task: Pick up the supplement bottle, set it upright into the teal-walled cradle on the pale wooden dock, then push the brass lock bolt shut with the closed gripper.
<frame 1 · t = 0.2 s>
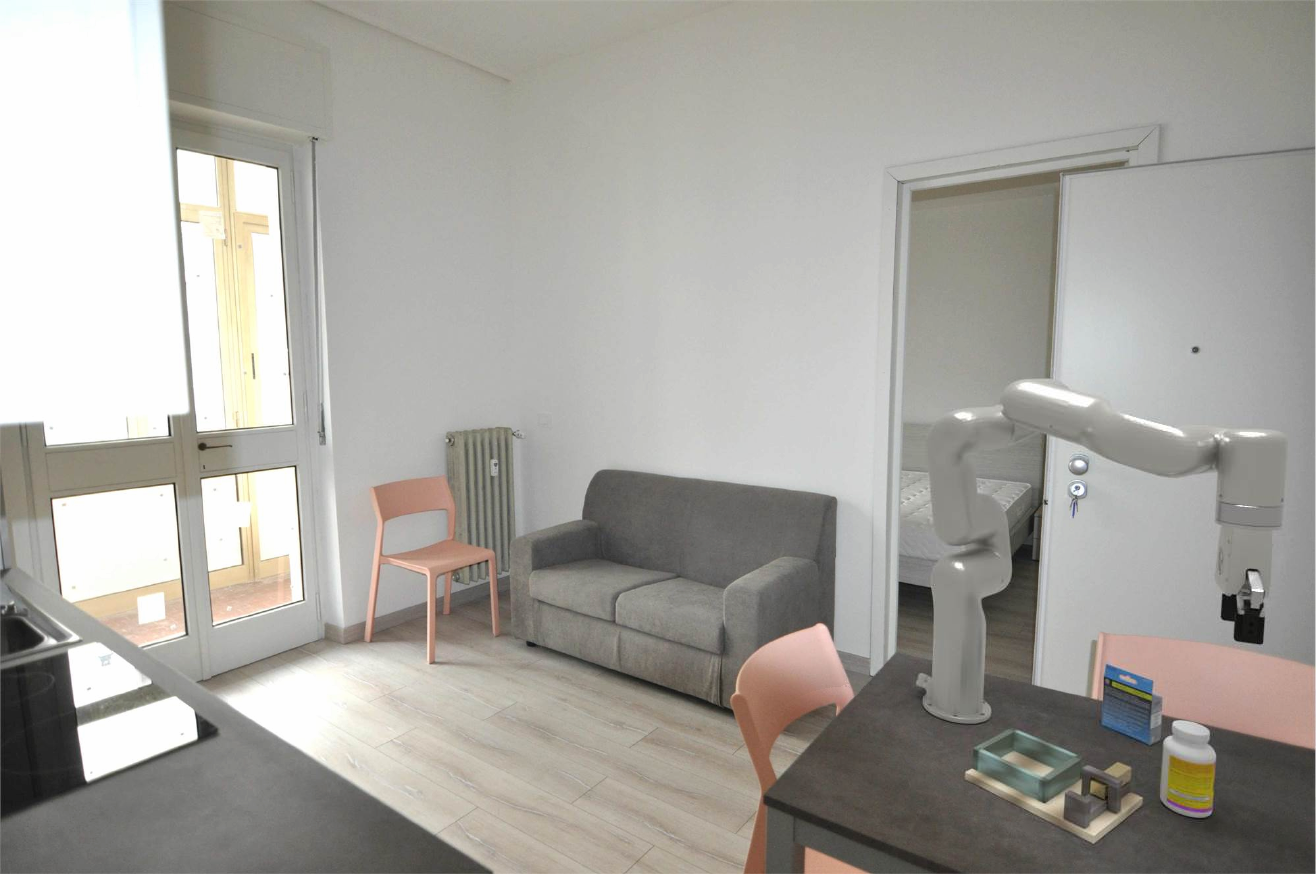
hand: (1240, 631, 105), 30 cm above the table, tool pointing down, fingers open, 9 cm apart
label tape box: (1129, 734, 135), on the table
supplement bottle: (1185, 807, 112), on the table
dock: (1050, 791, 116), on the table
lock bolt: (1111, 780, 113), point 4 cm above the table, slide at 0.0 cm
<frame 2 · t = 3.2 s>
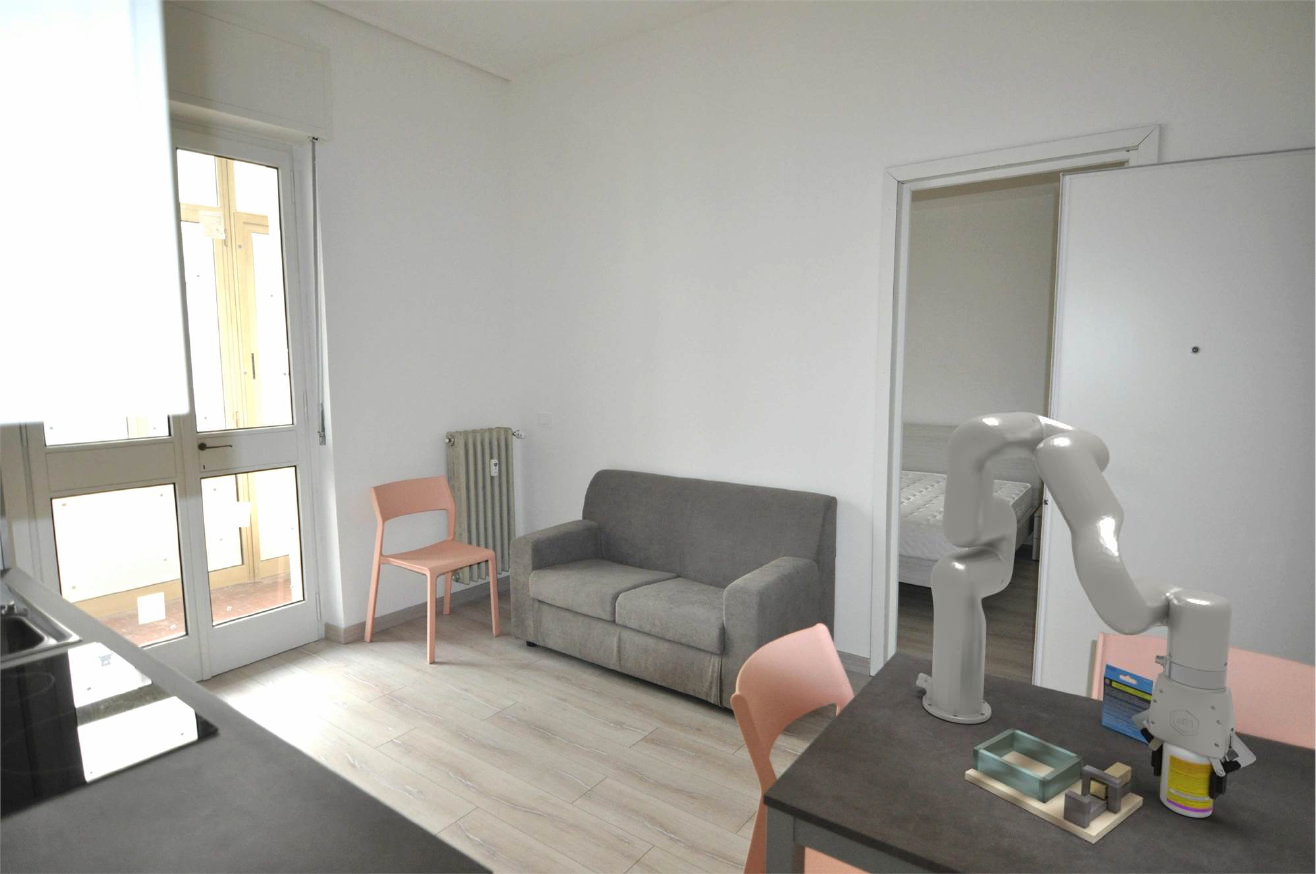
hand: (1186, 783, 112), 4 cm above the table, tool pointing down, fingers closed on supplement bottle, 6 cm apart
supplement bottle: (1185, 807, 112), on the table, touching gripper
everything else where it was.
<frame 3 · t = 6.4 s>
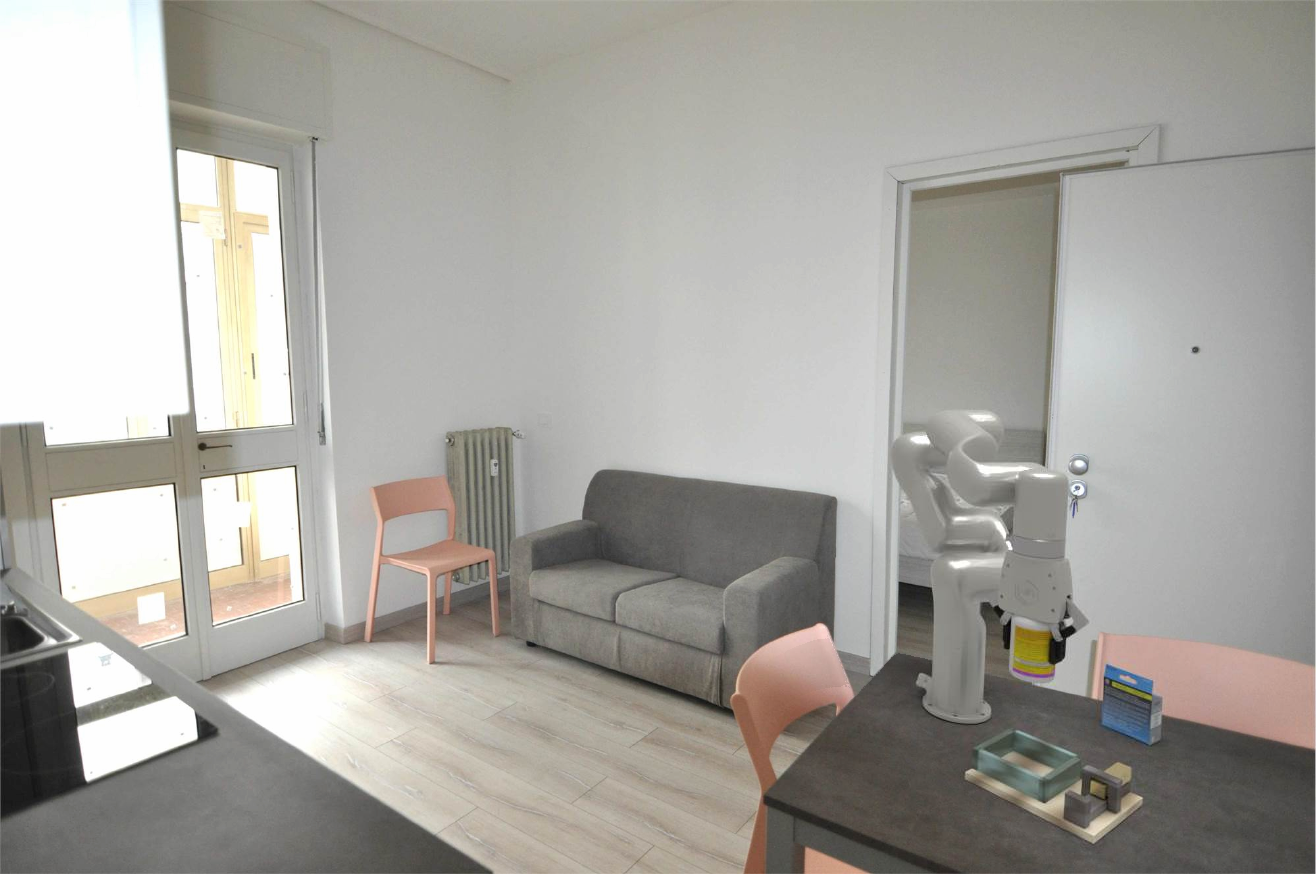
hand: (1032, 653, 118), 22 cm above the table, tool pointing down, fingers closed on supplement bottle, 6 cm apart
supplement bottle: (1031, 677, 118), point 18 cm above the table, touching gripper
everything else where it was.
when the fingers open (6 cm above the table, at t = 9.6 s): supplement bottle drops 1 cm, resting on dock.
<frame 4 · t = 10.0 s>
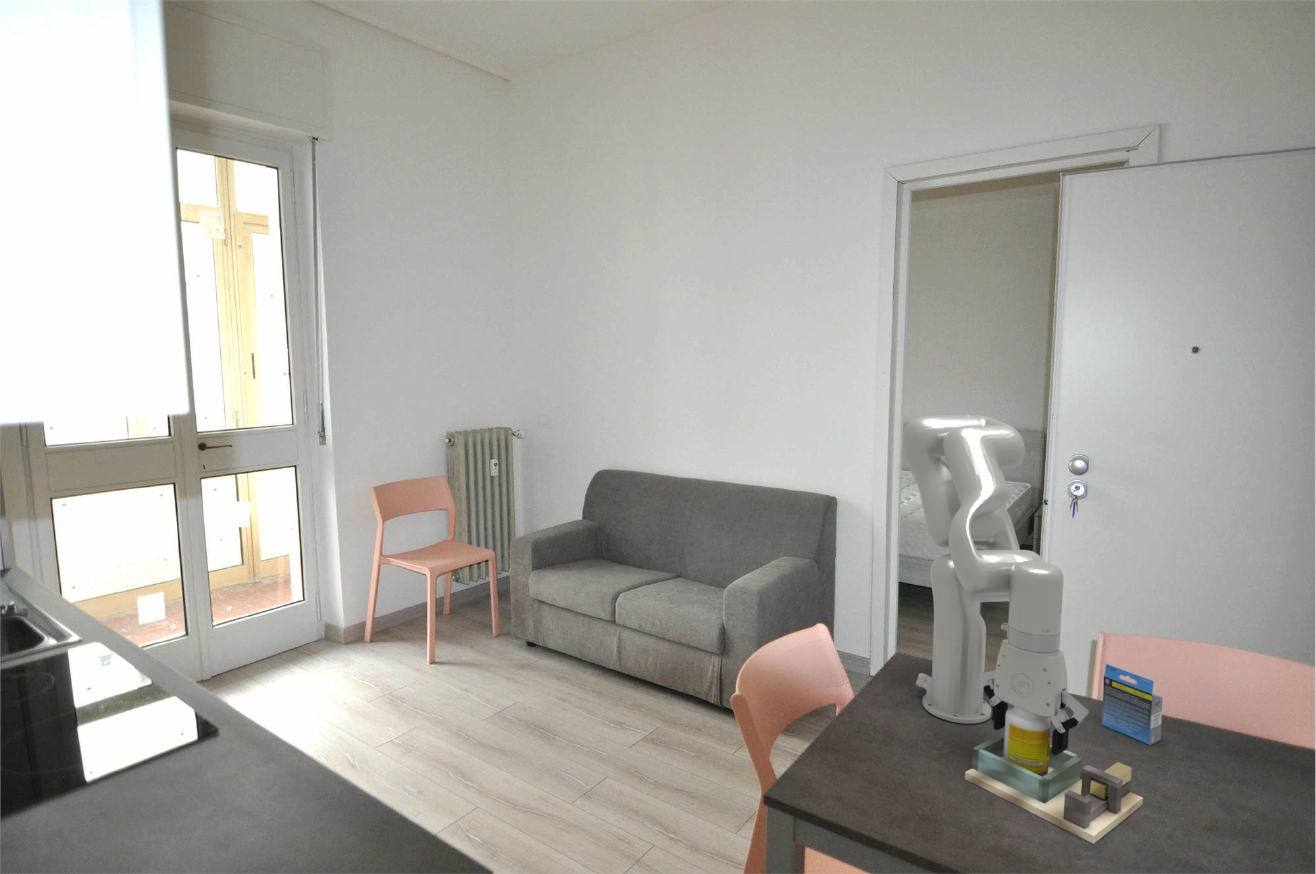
hand: (1028, 739, 119), 7 cm above the table, tool pointing down, fingers open, 9 cm apart
supplement bottle: (1025, 773, 120), point 1 cm above the table, touching dock
everything else where it was.
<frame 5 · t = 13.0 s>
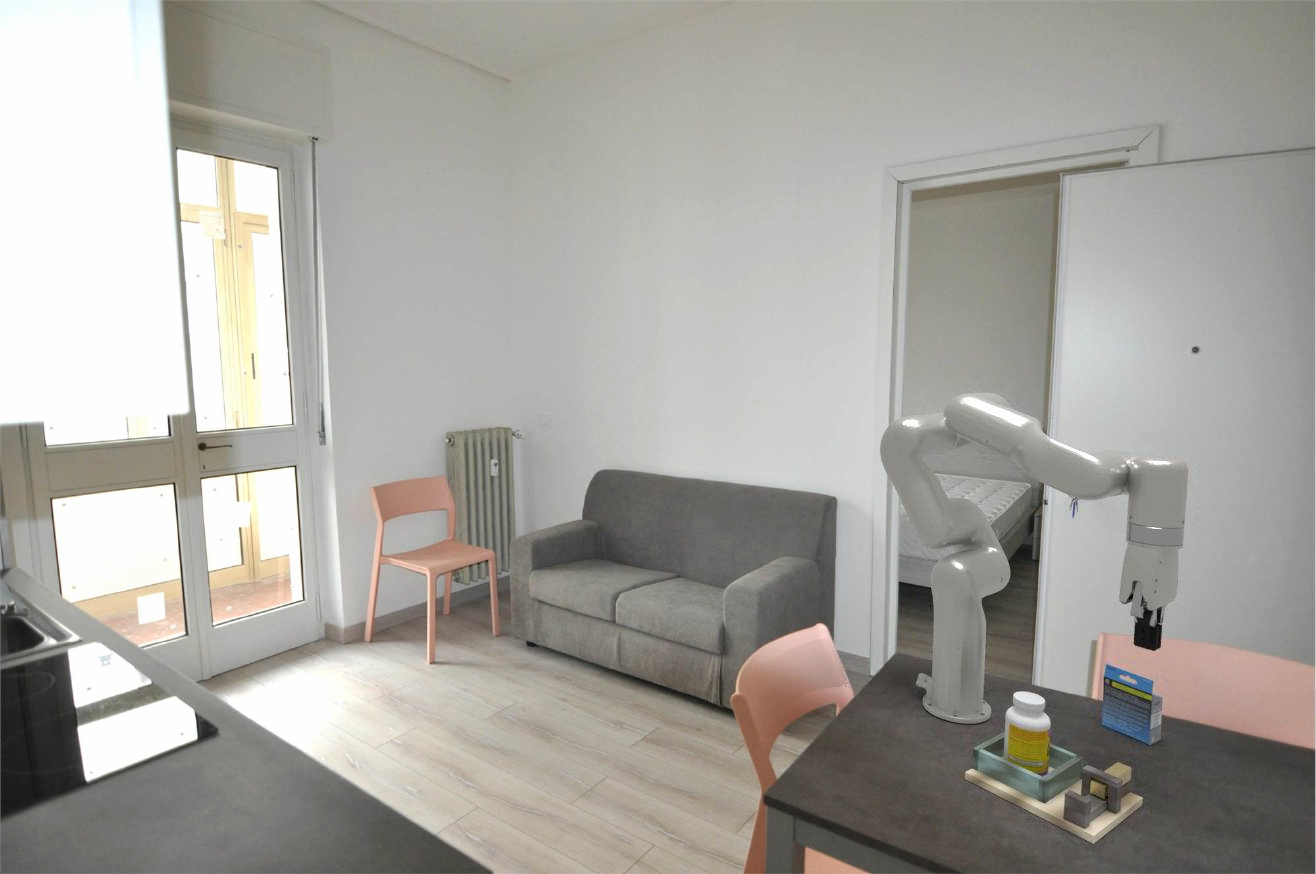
hand: (1146, 646, 116), 23 cm above the table, tool pointing down, fingers closed
nothing on the table moved.
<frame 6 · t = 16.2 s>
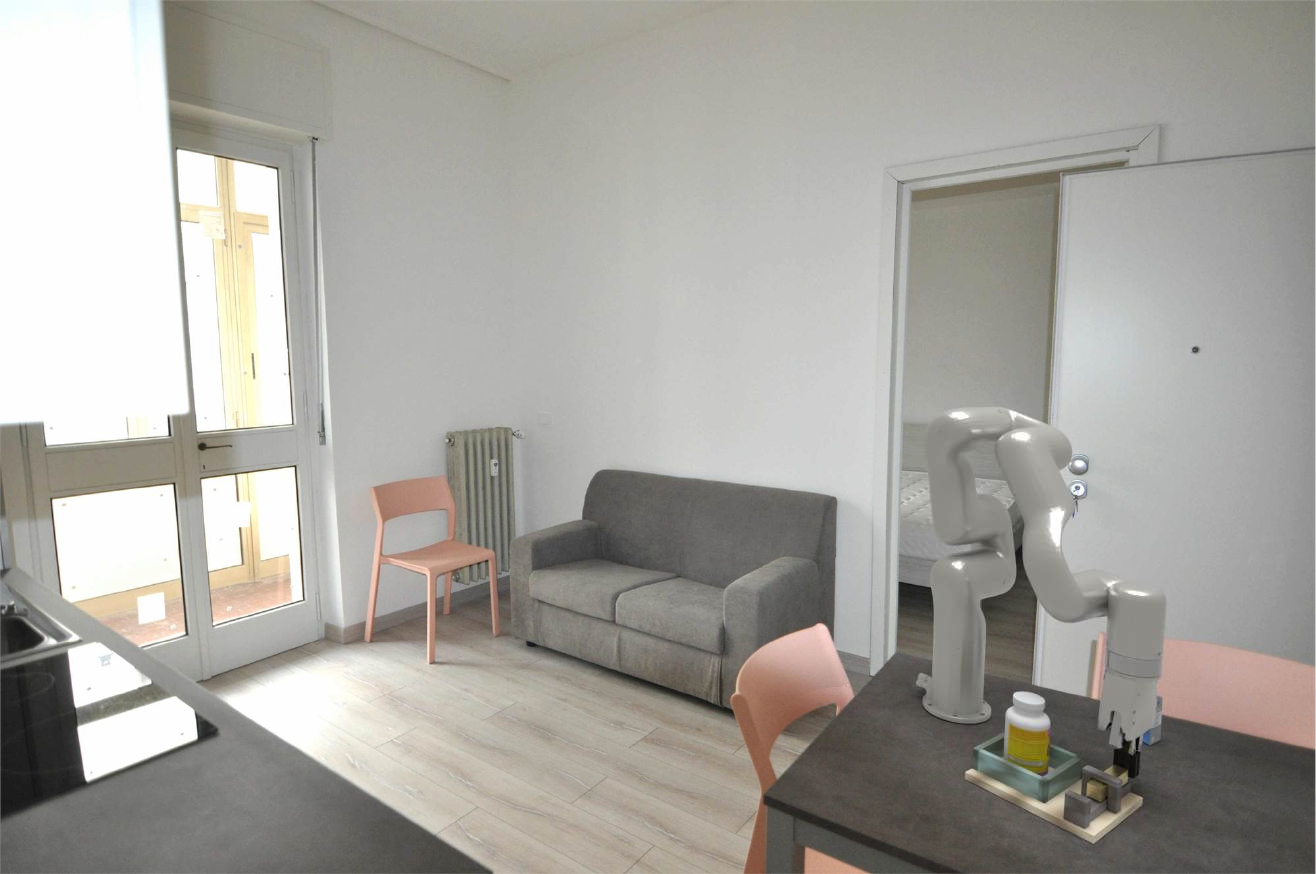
hand: (1125, 773, 116), 3 cm above the table, tool pointing down, fingers closed
lock bolt: (1107, 782, 112), point 4 cm above the table, slide at 1.2 cm, touching gripper
everything else where it was.
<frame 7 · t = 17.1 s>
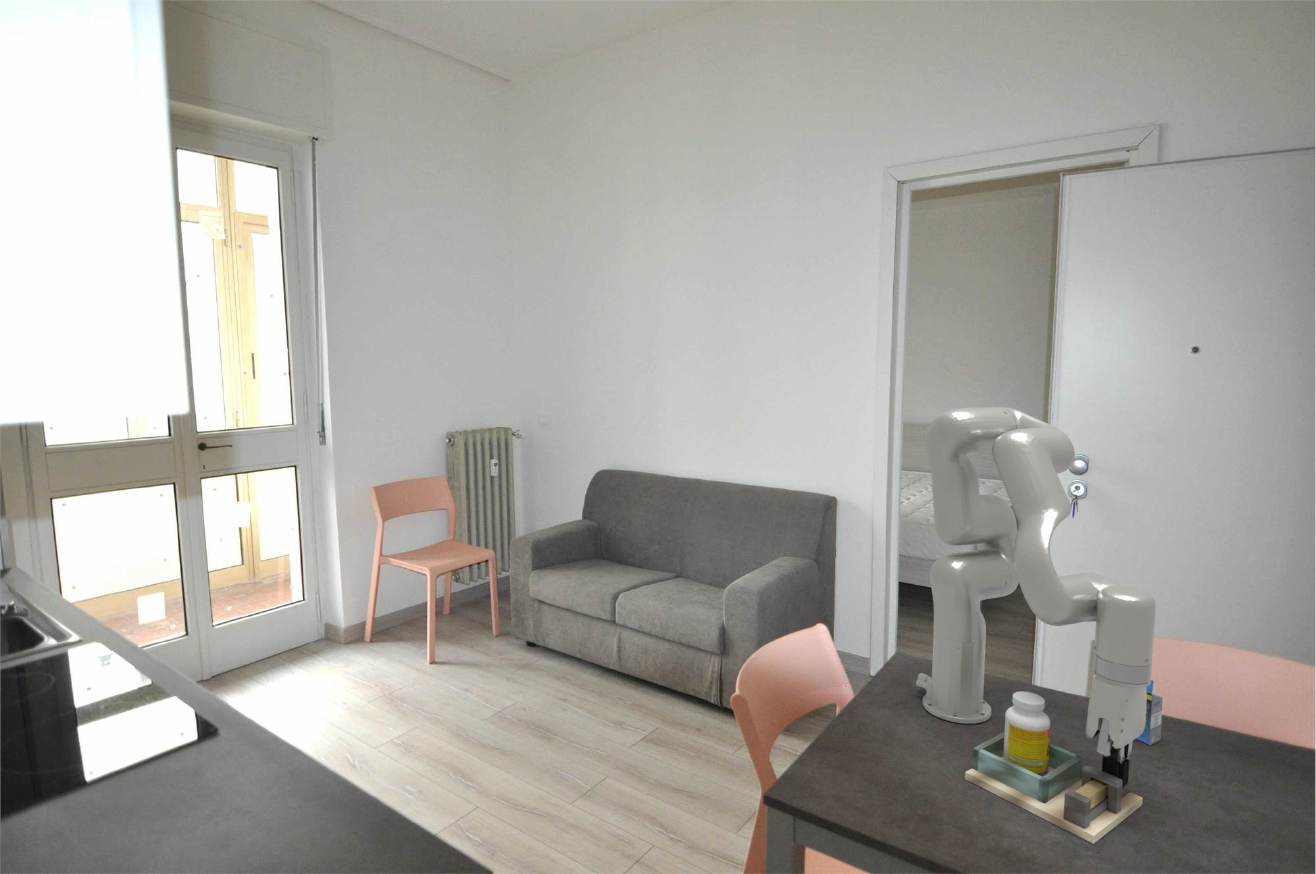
hand: (1114, 781, 113), 3 cm above the table, tool pointing down, fingers closed
lock bolt: (1095, 791, 110), point 4 cm above the table, slide at 5.1 cm, touching gripper
everything else where it was.
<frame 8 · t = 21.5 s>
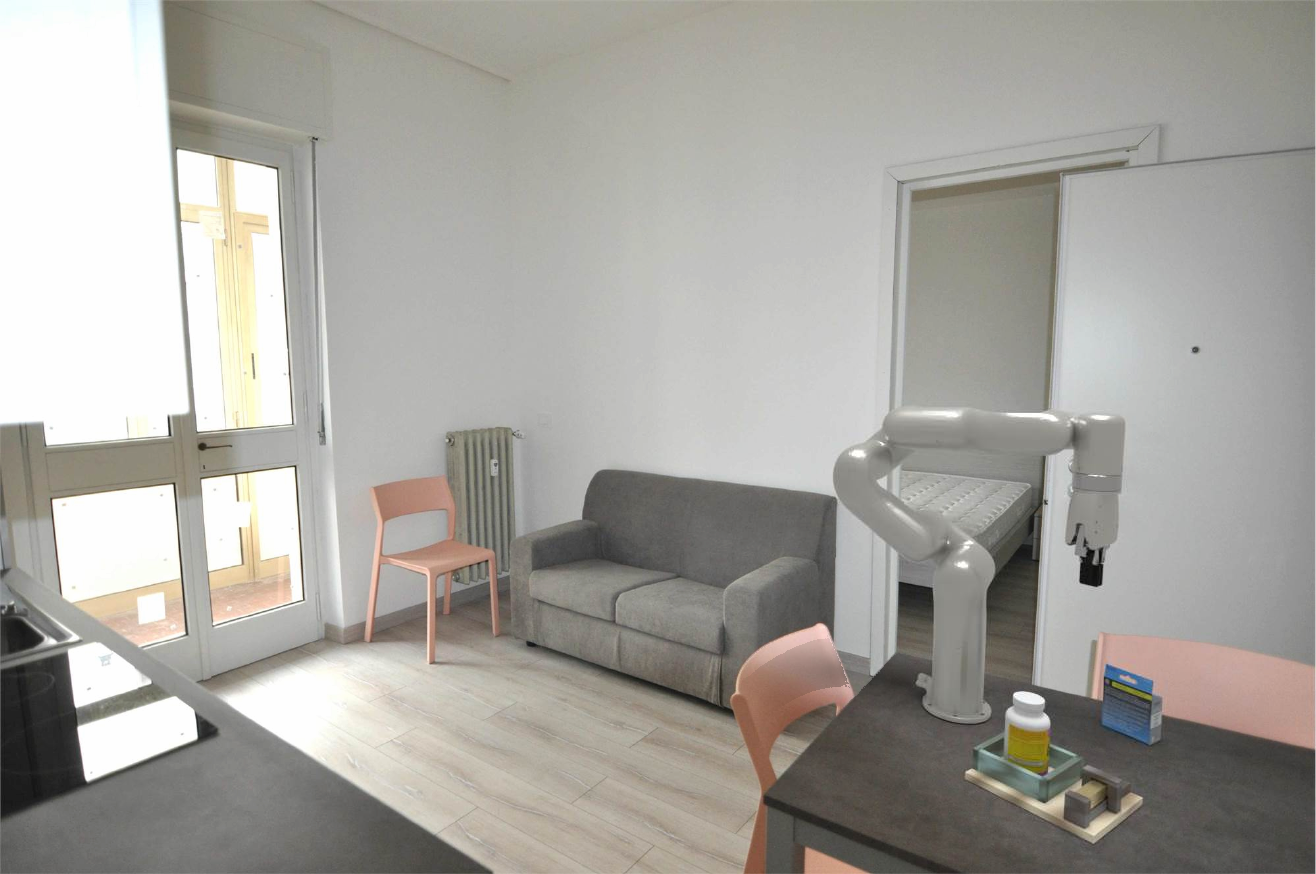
hand: (1090, 584, 130), 29 cm above the table, tool pointing down, fingers closed
lock bolt: (1095, 791, 110), point 4 cm above the table, slide at 5.1 cm
everything else where it was.
at the end: supplement bottle 0.3 cm from the target spot on the dock, point 1.0 cm above the dock's base; supplement bottle tilted 0°; lock bolt slide at 5.1 cm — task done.
